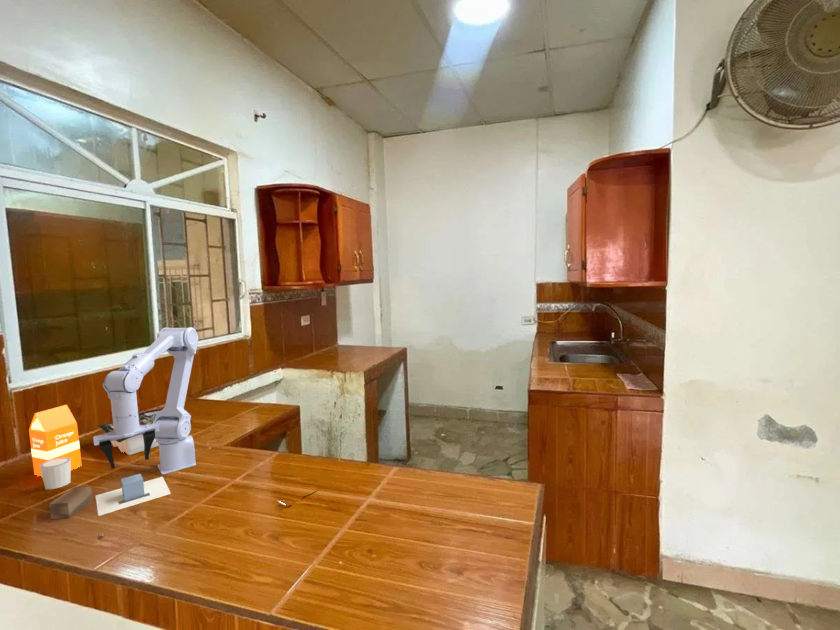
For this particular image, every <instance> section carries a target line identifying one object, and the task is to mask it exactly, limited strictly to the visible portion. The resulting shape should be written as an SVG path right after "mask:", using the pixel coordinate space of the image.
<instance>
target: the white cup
mask: <svg viewBox="0 0 840 630" xmlns="http://www.w3.org/2000/svg"><path fill="white" fill-rule="evenodd" d="M40 469H41V473H42V477H41V478H42V481H43V484H44V485H43V486H44V489H45V490H46V491H47V490H54V489H58V488H62V487H65V486H67V485H70V484H71V472H72V470H71V459H70V458H68V457H65V458H57V459H53V460H50V461H47V462H44V463H43V464H41V465H40ZM69 483H70V484H69Z"/></svg>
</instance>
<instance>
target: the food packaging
mask: <svg viewBox="0 0 840 630" xmlns="http://www.w3.org/2000/svg"><path fill="white" fill-rule="evenodd" d="M162 409H163V408H158V409H157V408H156V409H152V410H150V409H149V410H147V411H143V412H140V413H139V412H138V416H139V425H147V424H153V422H154V420H155V417H156V414H157V413H158V412H160V411H161V410H162ZM168 419H179V418H168ZM191 423H193V420H192V419H190V424H191ZM97 427H98V428H100V429H101V430H103V431H104V433H108V432H111V431H114V427H113V422H112V423H106V424H99V425H97ZM111 445H112V447H113V448H118V449H119V451H120V453H122V452H123V454H124V452H125V453H126V455H127V456H131V455H134V454H135V455H136V454H138V453H142V452H144V439H143V434H141V435H136V436H132V437H127V438H123V439H118V440H114V441H111ZM153 448H159V442H156V439H154V441H153V443H152V445H151V448H150V450H151V449H153Z"/></svg>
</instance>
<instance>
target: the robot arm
mask: <svg viewBox="0 0 840 630" xmlns="http://www.w3.org/2000/svg"><path fill="white" fill-rule="evenodd" d="M199 337H200V336H199V334H198V332H197V330H196V329H195V327H192V326H191V327H163V328H162V329H160V331H158V332H157V334H156V338H155V340H154V341H153V342H152V343H151V344H150V345H149V346H148V348H146V349H145V351H144V352H138V353H137V352H136V353H134V354H132V356H131V358H130V359H129V360H128V361H127V362H125V363H124V364H123V365H122V366H120V368H119V369H118V370H113V371H110V373H107V375H106V376H105V378H104V379H103V380H104V382H103V383H102V388H103V389H104V390H105V392H106V393H107V398H108V399H109V400H110V406H111V413H112V414H111V417H112V423H113V427H114V431H111V432H108V433H106V432H104V433H102V434H99V435H94V436H93V445H94V446H99V448H100V450H101V451H102V452H103V454H104V456H106V458H107V460H108V462H109V464H110V467H111V470H112V469H113V470H114V469H115V467H116V466H115V461H114V455H113V453H114V452H113V445H112V443H111V441H114V440H118V439H123V438H127V437H132V436H136V435H141V434H143V439H144V451H143V455H144V459H145V461H148V460H149V459H150V452H151V449H152V448H151V445H152V443H153V441H154V439H156V442H159V446H158V452H159V461H160V462H159V463H160V464H159V463H158V464H157V468H158V470H159V472H160V475H165V474H169V473H173V472H178V471H180V470H183V469H187V468H190V467H195V466H196V465H197V463H196V451H195V442H194V438H193V435H190V433H191V430H192V425H191V423H190V420H191V418H192V415H191V414H190V413H189V412H188V411H187V410H186V409H185V403H186V399H187V395H188V388H189V383H190V377H191V373H192V368H193V362H194V359H195V358H194V356H195V355H196V353H197V349H198V348H197V347H198V344H199ZM165 352H167V353H168V354H169V355H171V356H172V357H173V358H174V360H173V367H172V371H171V375H170V380H169V386H168V389H167V395H166V399H165V405H164V407H163V408H161V409H162V410H161V411H160V412H158V413H157V414H156V417H155V420H154V422H153V424H147V425H139V416H138V414H139V406H138V399H137V398H138V397H137V395H138V394H137V390H139V388H140V387H141V385H142V381H143V380H144V377H145V376H146V375H147V374H148V373H149V372H150V371H151V370H152V369H153V368H154V366H155V361H156V360H157V359H158V358H159V357H160V356H161V355H163V354H164V353H165ZM168 418H179V419H168ZM150 448H151V449H150Z"/></svg>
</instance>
